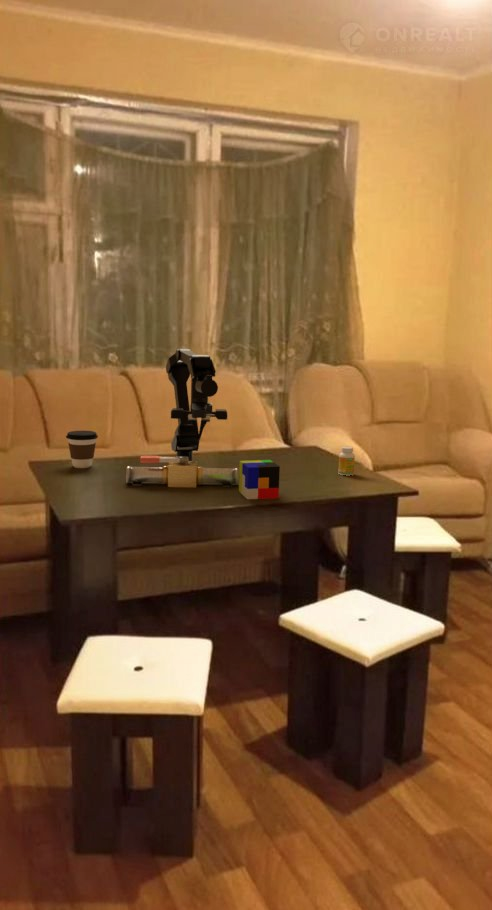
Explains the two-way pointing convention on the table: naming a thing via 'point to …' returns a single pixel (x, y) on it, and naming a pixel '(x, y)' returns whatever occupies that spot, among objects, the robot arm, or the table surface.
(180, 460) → the lever
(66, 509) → the table surface
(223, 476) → the valve
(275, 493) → the puzzle toy
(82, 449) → the coffee cup
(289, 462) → the table surface
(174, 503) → the table surface
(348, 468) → the supplement bottle
